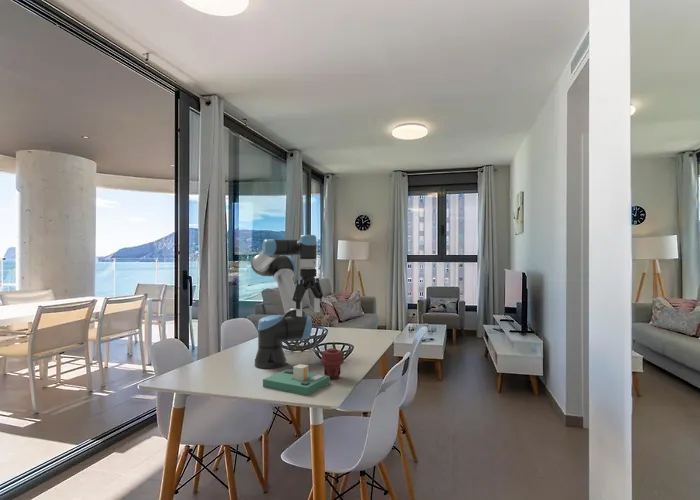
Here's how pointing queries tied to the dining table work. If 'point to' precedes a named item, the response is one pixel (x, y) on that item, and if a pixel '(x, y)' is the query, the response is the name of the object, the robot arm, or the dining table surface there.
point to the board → (296, 382)
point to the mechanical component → (332, 362)
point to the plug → (300, 372)
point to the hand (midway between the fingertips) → (308, 314)
